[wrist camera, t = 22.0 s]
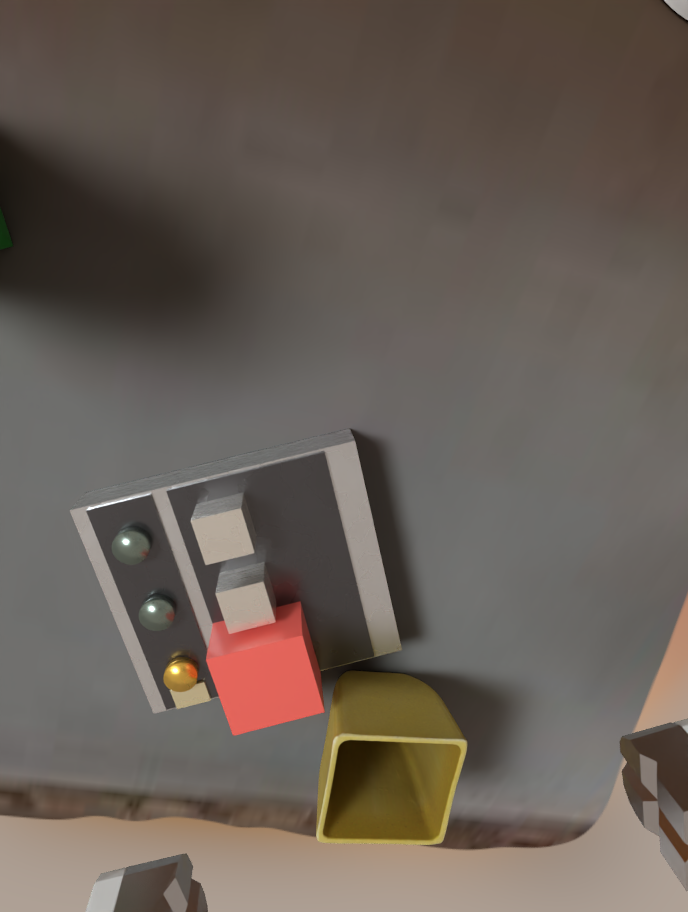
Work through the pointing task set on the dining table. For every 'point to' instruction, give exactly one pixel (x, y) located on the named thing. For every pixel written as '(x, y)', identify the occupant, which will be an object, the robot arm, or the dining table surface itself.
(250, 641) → the cap
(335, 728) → the flower pot
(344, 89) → the dining table surface
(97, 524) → the breaker panel
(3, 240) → the milk carton
